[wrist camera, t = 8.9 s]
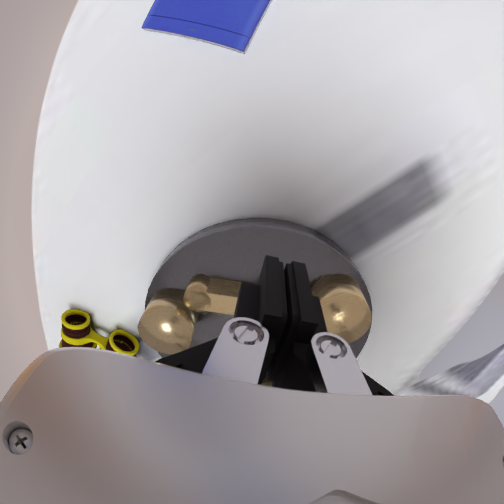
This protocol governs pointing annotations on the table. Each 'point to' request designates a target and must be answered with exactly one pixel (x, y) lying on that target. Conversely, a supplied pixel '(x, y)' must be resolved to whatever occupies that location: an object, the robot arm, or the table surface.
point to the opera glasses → (93, 335)
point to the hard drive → (208, 20)
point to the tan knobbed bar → (327, 289)
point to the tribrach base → (232, 276)
